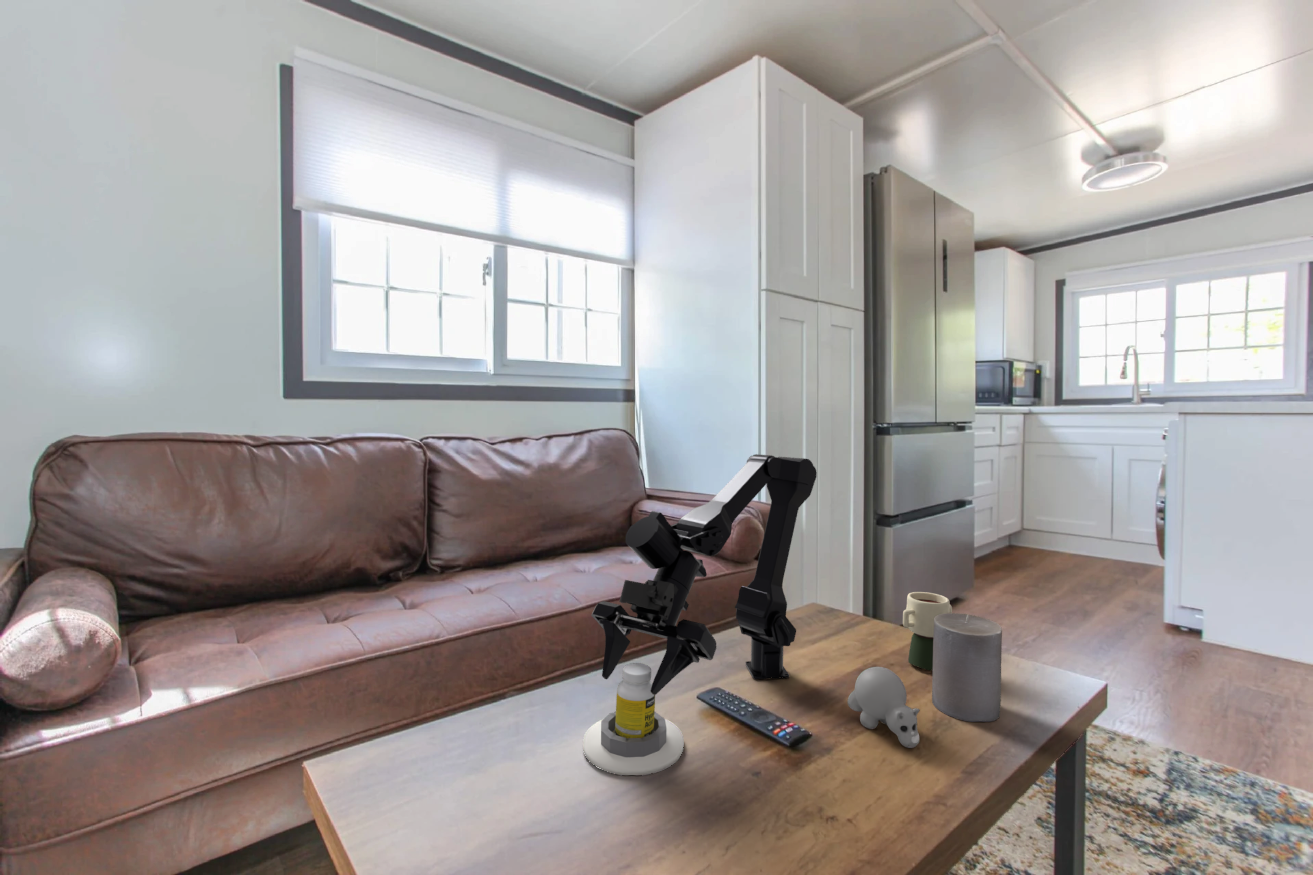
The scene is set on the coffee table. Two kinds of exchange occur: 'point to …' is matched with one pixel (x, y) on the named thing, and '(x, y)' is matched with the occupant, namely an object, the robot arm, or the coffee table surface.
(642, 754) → the socket collar
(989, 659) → the pillar candle
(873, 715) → the chubby cartoon animal
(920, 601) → the character mug
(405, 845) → the coffee table surface
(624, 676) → the supplement bottle
